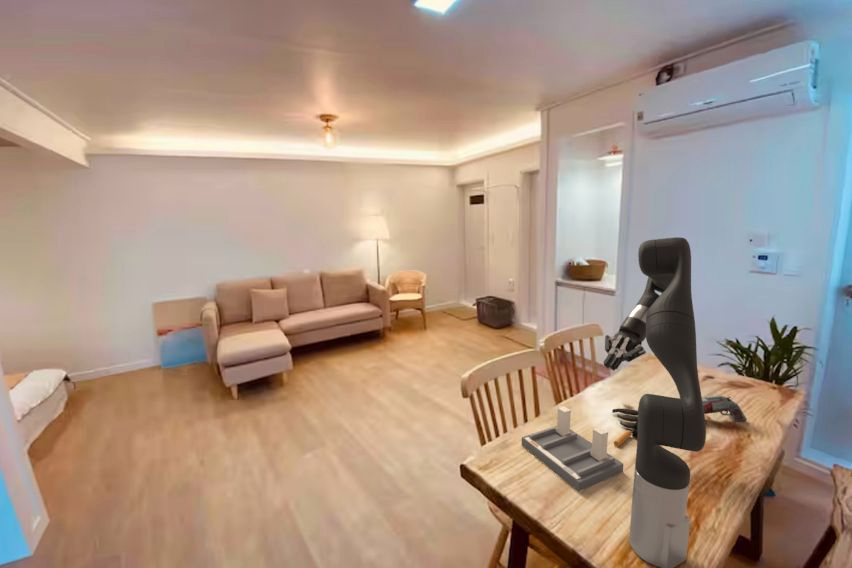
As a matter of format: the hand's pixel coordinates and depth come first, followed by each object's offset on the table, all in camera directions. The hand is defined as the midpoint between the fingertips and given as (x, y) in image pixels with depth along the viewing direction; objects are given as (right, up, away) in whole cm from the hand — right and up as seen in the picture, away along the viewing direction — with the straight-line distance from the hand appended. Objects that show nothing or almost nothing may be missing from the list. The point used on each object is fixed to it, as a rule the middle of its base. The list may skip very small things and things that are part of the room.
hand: (608, 367), depth 116 cm
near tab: (-9, -22, -12) cm, 26 cm away
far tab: (-14, -20, 0) cm, 24 cm away
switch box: (-15, -24, -7) cm, 29 cm away
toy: (+14, -22, +5) cm, 26 cm away
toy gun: (+39, -20, +11) cm, 45 cm away
